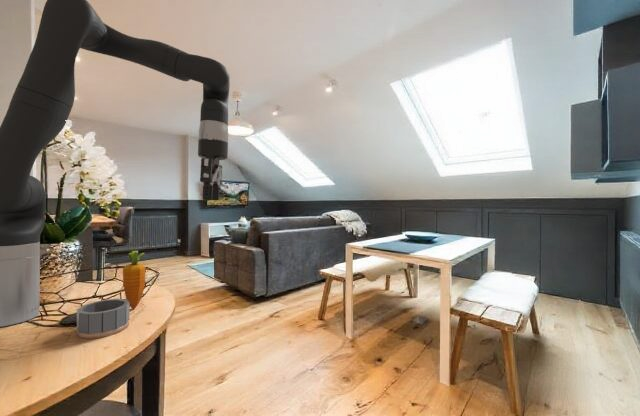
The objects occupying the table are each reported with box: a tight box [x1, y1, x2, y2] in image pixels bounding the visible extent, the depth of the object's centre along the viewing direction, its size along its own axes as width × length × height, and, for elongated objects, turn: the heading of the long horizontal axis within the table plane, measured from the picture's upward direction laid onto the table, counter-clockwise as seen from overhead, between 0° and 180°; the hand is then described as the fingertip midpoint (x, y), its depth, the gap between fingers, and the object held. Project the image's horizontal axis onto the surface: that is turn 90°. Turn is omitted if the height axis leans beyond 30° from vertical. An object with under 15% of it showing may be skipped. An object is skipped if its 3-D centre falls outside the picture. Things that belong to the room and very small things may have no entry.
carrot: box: [122, 250, 147, 310], centre depth 71 cm, size 5×5×15 cm
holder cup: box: [76, 298, 130, 340], centre depth 59 cm, size 9×9×5 cm
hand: (211, 200), depth 76 cm, fingers open, 8 cm apart
